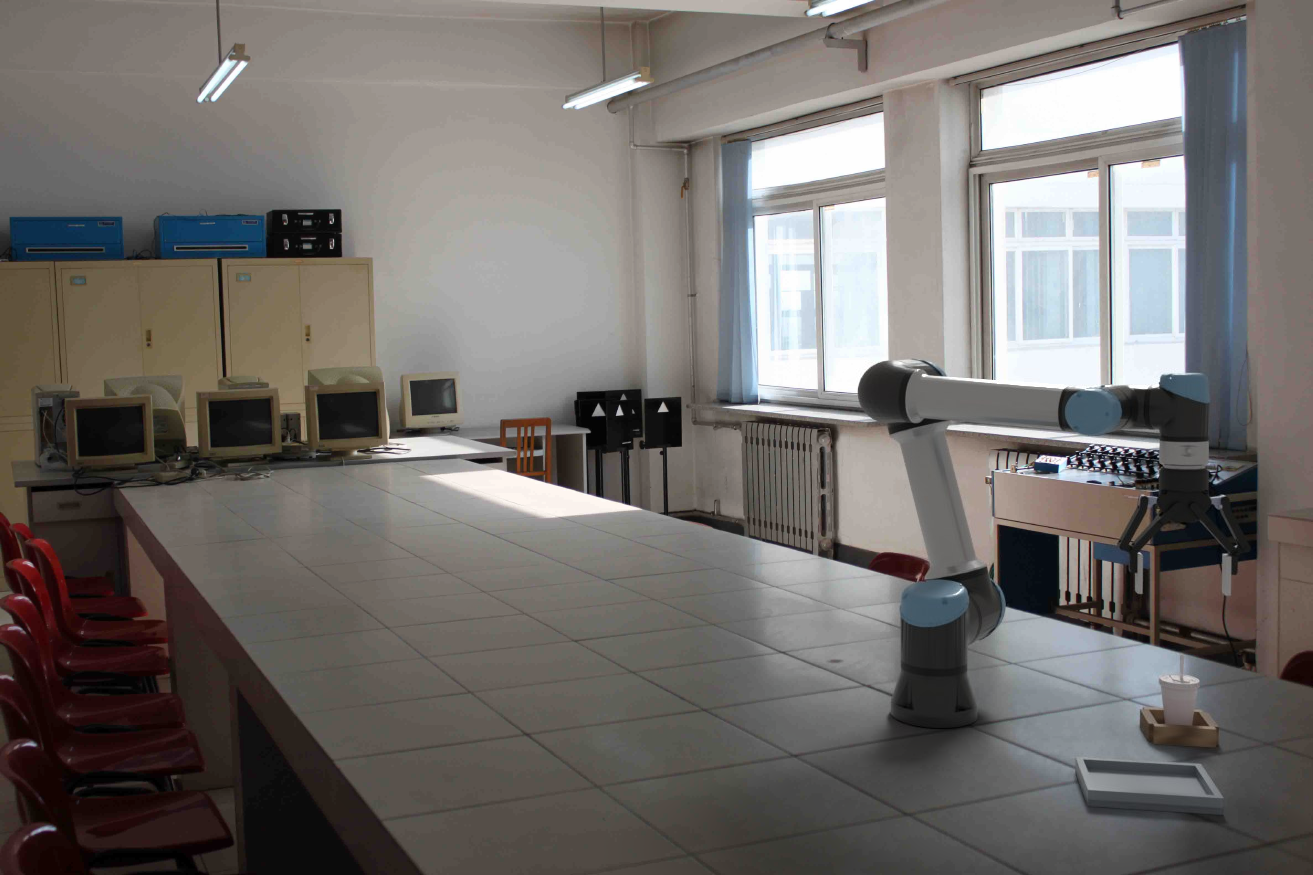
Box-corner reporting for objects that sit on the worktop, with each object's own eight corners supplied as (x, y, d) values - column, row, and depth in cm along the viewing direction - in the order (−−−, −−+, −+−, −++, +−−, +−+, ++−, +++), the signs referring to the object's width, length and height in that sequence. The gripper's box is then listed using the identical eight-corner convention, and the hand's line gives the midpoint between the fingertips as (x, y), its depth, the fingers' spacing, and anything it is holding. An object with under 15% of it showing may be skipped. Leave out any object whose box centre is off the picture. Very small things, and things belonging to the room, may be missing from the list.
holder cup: (1149, 743, 197) (1150, 725, 196) (1138, 723, 207) (1138, 706, 207) (1220, 747, 194) (1221, 729, 194) (1205, 726, 205) (1205, 709, 205)
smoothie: (1175, 743, 197) (1176, 659, 196) (1149, 731, 203) (1150, 650, 202) (1207, 739, 198) (1209, 656, 197) (1181, 727, 205) (1182, 647, 204)
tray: (1087, 805, 171) (1087, 789, 170) (1075, 771, 184) (1075, 756, 184) (1223, 814, 167) (1223, 798, 167) (1200, 779, 180) (1200, 763, 180)
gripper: (1107, 468, 196) (1106, 595, 198) (1272, 468, 191) (1270, 599, 192) (1100, 464, 203) (1099, 586, 205) (1259, 464, 198) (1257, 590, 200)
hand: (1182, 593), depth 199 cm, fingers open, 13 cm apart
